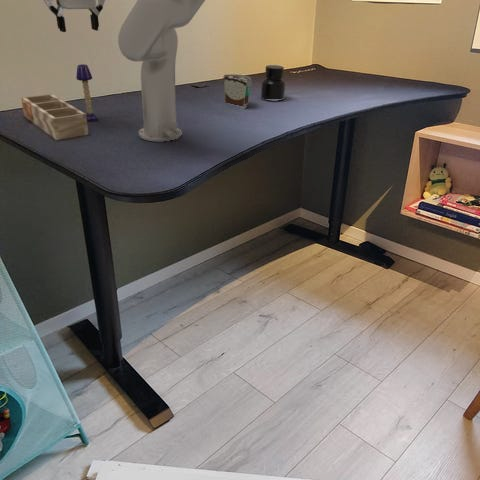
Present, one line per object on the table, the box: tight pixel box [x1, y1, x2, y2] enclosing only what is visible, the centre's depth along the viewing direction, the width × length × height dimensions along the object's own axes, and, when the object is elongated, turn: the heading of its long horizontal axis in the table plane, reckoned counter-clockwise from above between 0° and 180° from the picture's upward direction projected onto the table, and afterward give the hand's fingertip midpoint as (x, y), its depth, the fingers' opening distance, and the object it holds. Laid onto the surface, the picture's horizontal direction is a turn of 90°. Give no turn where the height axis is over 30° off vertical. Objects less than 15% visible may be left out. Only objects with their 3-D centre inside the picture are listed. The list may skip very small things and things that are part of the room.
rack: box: [20, 93, 89, 141], centre depth 141 cm, size 26×10×6 cm, turn 40°
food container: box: [222, 73, 253, 107], centre depth 171 cm, size 12×6×10 cm, turn 47°
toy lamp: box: [75, 64, 98, 123], centre depth 145 cm, size 5×5×17 cm
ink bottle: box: [260, 64, 286, 99], centre depth 180 cm, size 10×9×12 cm
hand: (79, 30), depth 136 cm, fingers open, 9 cm apart
